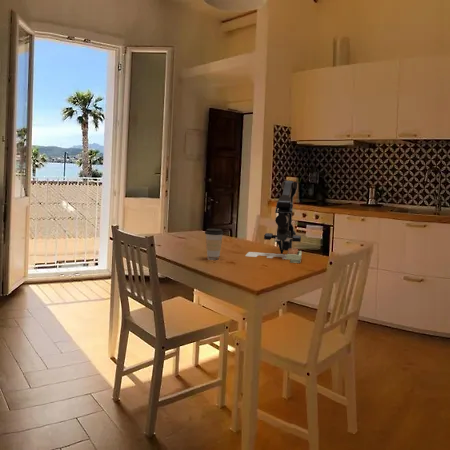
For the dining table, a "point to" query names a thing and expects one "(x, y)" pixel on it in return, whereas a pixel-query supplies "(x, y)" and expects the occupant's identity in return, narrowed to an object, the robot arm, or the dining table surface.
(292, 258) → the deck
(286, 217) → the robot arm
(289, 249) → the pink short cylinder
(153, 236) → the dining table surface
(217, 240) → the coffee cup
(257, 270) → the dining table surface
